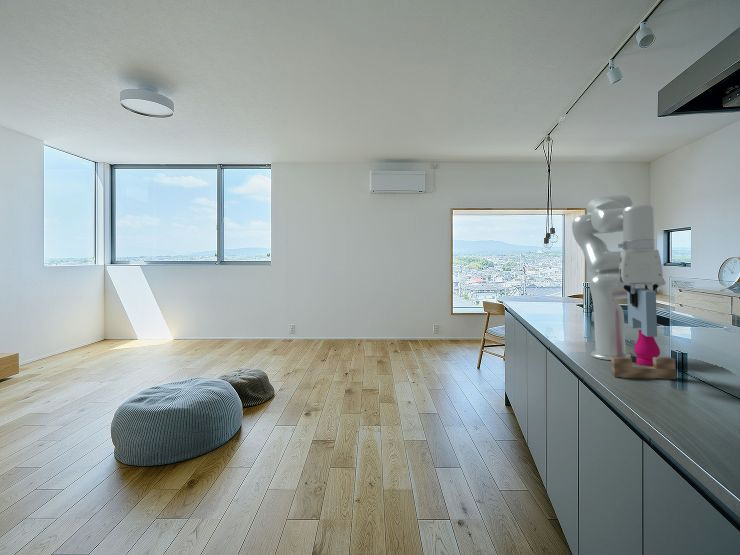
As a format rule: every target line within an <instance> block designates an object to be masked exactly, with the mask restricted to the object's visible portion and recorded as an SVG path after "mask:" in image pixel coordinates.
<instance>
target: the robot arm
mask: <svg viewBox="0 0 740 555" xmlns="http://www.w3.org/2000/svg"><path fill="white" fill-rule="evenodd" d="M654 219H655V218H654V207H653V206H652V205H651V204H649V203H648V204H646V203H645V204H635V205H633V201H632V199H631V197H630V196H628V195H625V194H616V195H607V196H598V197H595V198H592V199H591V200H590V201H589V202H588V203H587V206H586V213H585V214H582V215H579V216H577V217H575V218H574V219H573V220H572V224H571V230H572V235H573V238H574V240H575V242H576V244H577V245H578V246H579V247H580V249H581V250H582V253H583V256H584V260H585V263H586V265H587V266H586V267H587V269H588V270H589V273H590V274H591V275H592V276H593V277H592V278H591V279H590V280H589V290H590V295H591V299H592V304H593V305H592V307H593V321H594V322H593V323H594V343H595V350H593V351H591V353H590V356H592V357H593V358H596V359H600V360H606V361H607V360H608V361H611V357H630V358H631V359H632V355H631V354H630V353H628V352H626V335H625V334H626V330H625V315H624V309H623V308H622V306H621V305H620V303H618V302H617V301H616V300H619V299H620V300H621V299H627V291H628V292H629V293H630V304H632V306H634V307H637V306H638V297H637V294H636V286H637V287H641V288H645V289H649V290H653V291H656V290H657V289H658V288H660V287H662V286H665V285H666V283H667V282H666V281H665V279H664V277H663V265H662V260H661V256H660V255H661V254H660V252H659V250H658V249H656V248H655V228H654V227H655V223H654V222H655V221H654ZM617 232H618V233H619V232H622V235H623V236H622V237H623V241H622V242H621V243H618V244H617V247H618V248H617V249H622V250H621V251H619V250H618V251H610V250H609V249H608V246H607V244H606V242H605V241H604V240H602V239H601V238H600V237H599V236H596V235H597V234H600V235H601V234H611V233H612V234H613V233H617Z"/></svg>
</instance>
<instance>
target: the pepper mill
mask: <svg viewBox="0 0 740 555" xmlns="http://www.w3.org/2000/svg"><path fill="white" fill-rule="evenodd" d="M636 329H637V330H638V337H637V340H636V342H635V344H634V349H633V351H634V354H635V355H636V356H637V357H636V358H635V359H636V360H635V362H636V364H638V365H641V366H644V367H653V357H660V354H661V350H660V347H659V345H658V343H657V342H656V339H655V337H647V336H645V335H644V334H642V332H641V328H636Z"/></svg>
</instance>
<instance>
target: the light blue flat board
mask: <svg viewBox="0 0 740 555" xmlns="http://www.w3.org/2000/svg"><path fill="white" fill-rule="evenodd" d="M636 294H637V297H638V306H637V307H634V306H632V304H630V293H629V292H628V291H627V298H626V299H627V321H628V322H627V324H628V325H627V326H628V327H630V328H631V329H637V328H641V332H642V334H644V335H645V336H647V337H654V338H656V337H658V321H657V320H658V319H657V318H658V317H657V292H656V290H654V291H653V290H649V289H645V288H641V287H637V286H636Z"/></svg>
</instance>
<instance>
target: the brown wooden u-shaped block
mask: <svg viewBox="0 0 740 555" xmlns="http://www.w3.org/2000/svg"><path fill="white" fill-rule="evenodd" d="M610 362H611V375H612V377H613V378H616V377H621V378H623V379H626V378H627V379H655V378H661V379H662V378H663V379H662V380H665V379H666V380H670V379H671V380H677V373H676V369H677V367H676V359H675V358H673V357H670V356H669V357H668V356H667V357H666V356H665V357H663V356H662V357H661V356H658V357H653V366H642V365H641V366H638V365H636V366H634V365H633V363H632V362H633V360H632V357H631V358H630V357H611V360H610ZM661 379H660V380H661Z"/></svg>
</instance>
